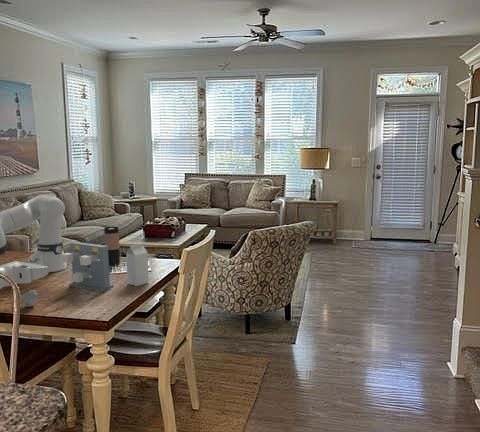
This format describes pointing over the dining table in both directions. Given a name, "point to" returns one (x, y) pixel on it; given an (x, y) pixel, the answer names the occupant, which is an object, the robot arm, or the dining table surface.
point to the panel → (92, 267)
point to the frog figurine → (29, 298)
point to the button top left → (70, 256)
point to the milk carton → (137, 265)
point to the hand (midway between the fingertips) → (41, 264)
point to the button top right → (88, 259)
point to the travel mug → (112, 244)
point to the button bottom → (80, 276)
